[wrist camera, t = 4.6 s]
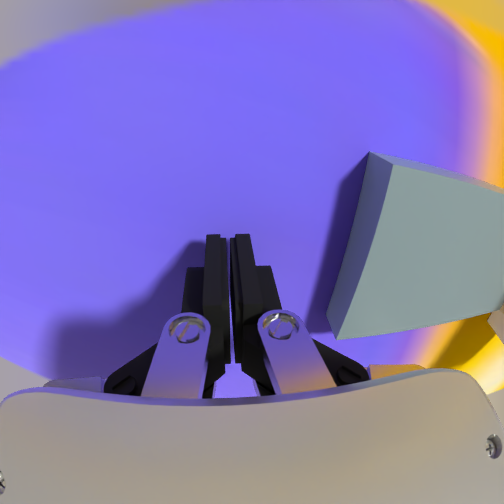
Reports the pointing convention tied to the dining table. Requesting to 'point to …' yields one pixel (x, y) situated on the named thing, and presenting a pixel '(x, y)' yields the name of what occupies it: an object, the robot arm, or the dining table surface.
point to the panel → (419, 250)
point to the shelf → (497, 322)
